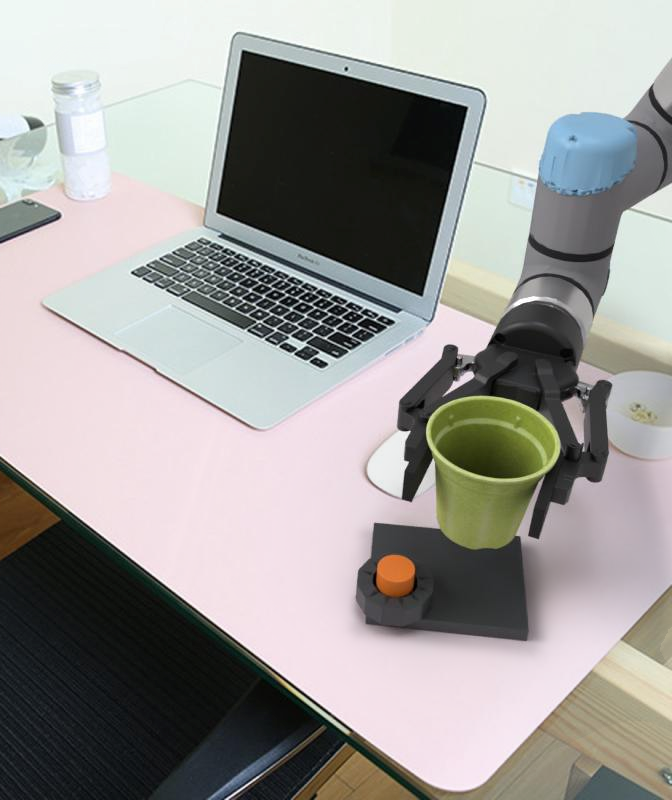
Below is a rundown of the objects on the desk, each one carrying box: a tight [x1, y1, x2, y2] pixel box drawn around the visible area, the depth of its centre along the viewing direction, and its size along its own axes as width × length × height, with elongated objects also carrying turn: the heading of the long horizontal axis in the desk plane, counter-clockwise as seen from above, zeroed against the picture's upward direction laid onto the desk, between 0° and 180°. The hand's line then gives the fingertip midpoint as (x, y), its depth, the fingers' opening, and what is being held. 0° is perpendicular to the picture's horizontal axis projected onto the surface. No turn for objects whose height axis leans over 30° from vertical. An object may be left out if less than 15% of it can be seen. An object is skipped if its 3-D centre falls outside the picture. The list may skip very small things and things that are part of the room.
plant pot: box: [426, 396, 561, 550], centre depth 70 cm, size 9×9×9 cm
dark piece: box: [355, 522, 530, 642], centre depth 74 cm, size 13×11×3 cm
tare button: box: [376, 555, 415, 598], centre depth 72 cm, size 3×3×2 cm
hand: (470, 504), depth 66 cm, fingers closed on plant pot, 8 cm apart
